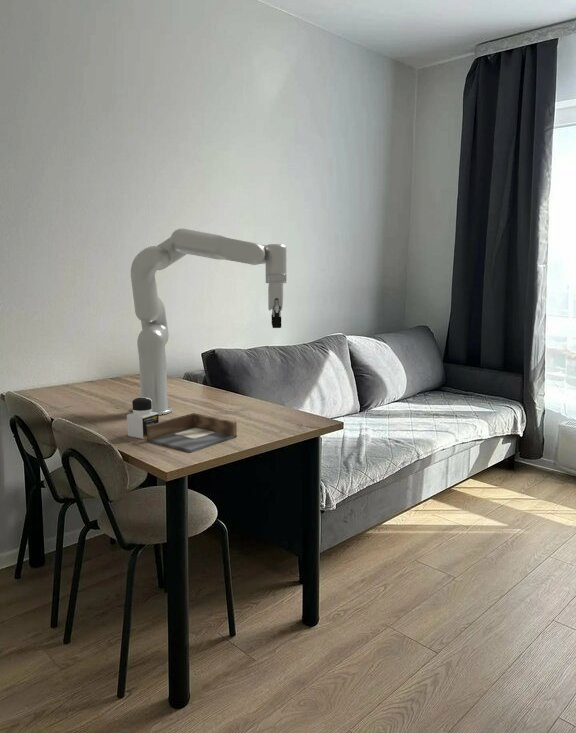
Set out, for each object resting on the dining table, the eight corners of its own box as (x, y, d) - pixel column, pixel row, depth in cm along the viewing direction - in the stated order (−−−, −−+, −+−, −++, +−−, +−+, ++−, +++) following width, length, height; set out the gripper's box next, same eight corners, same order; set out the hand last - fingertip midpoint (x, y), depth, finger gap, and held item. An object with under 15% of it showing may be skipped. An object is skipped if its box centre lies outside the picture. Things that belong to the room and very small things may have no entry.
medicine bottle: (143, 439, 196) (142, 402, 193) (127, 436, 199) (125, 399, 197) (159, 434, 201) (158, 397, 199) (143, 431, 205) (142, 395, 203)
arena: (147, 441, 193) (146, 425, 192) (194, 427, 209) (193, 413, 208) (190, 452, 182) (190, 435, 181) (236, 437, 198) (236, 421, 197)
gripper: (265, 278, 233) (265, 324, 236) (266, 279, 216) (266, 329, 219) (285, 278, 234) (285, 324, 237) (287, 279, 217) (287, 329, 220)
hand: (276, 326), depth 228 cm, fingers open, 9 cm apart
